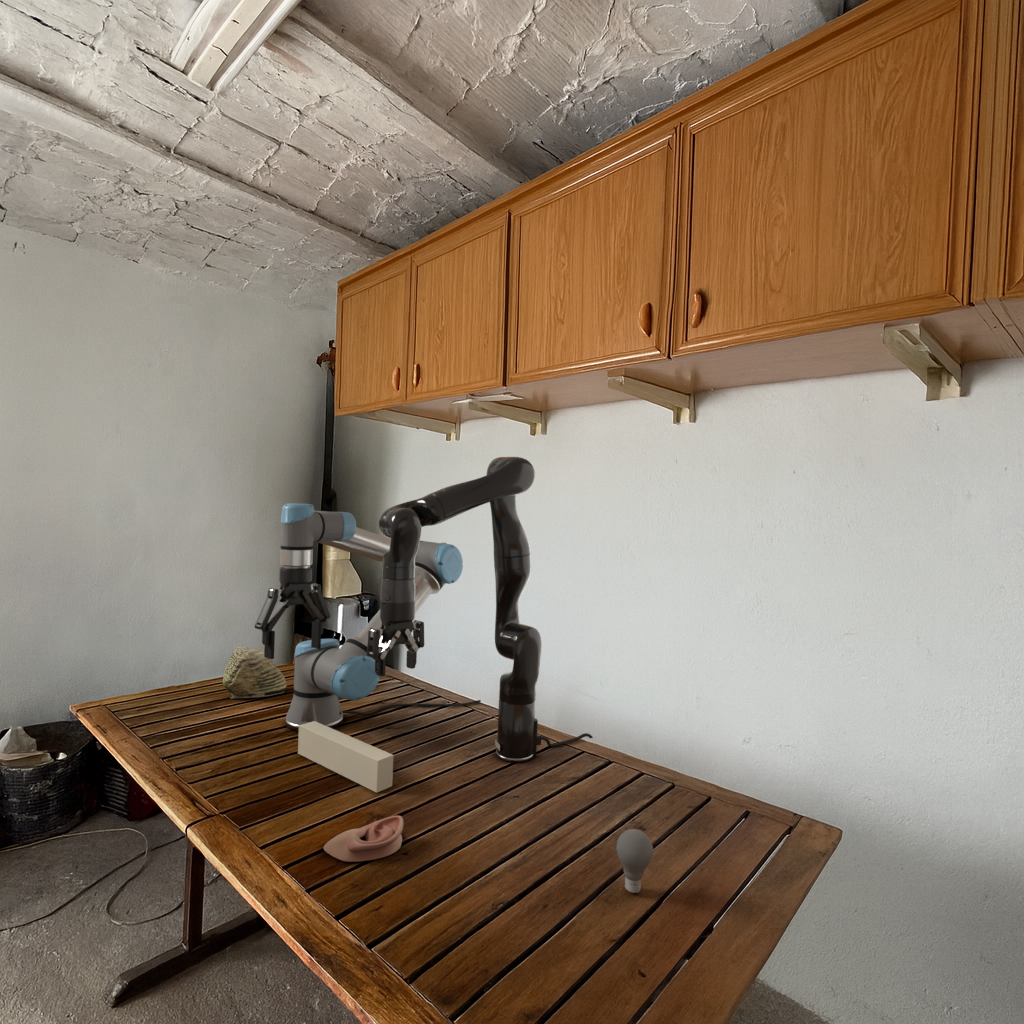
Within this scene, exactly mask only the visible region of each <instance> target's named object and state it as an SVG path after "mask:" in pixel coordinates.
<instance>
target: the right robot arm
mask: <svg viewBox="0 0 1024 1024" xmlns="http://www.w3.org/2000/svg"><path fill="white" fill-rule="evenodd" d="M535 478H536V471H535V468H534V465H533V464H532V463H531V462H530V461H529V460H528V459H526V458H524V457H521V456H520V457H519V456H498V457H496V458H493V460H491V462H490V463H489V464H488V467H487V469H486V475H484V476H481V477H478V478H475V479H471V480H468V481H463V482H459V483H456V484H452V485H449V486H446V487H442V488H441V489H438V490H436V491H433V492H431V493H428V494H427V495H424V496H422V497H419V498H416V499H412V500H409V501H405V502H402V503H399V504H395V505H393V506H391V507H389V508H386V509H385V510H384V511H383V512H382V514H381V515H380V517H379V520H378V528H379V530H380V532H381V534H383V536H384V537H387V538H391V543H390V549H389V551H388V552H386V553H385V554H384V557H383V565H382V568H381V569H382V571H381V573H382V574H381V575H382V576H381V583H380V584H381V585H380V602H379V603H380V606H379V610H380V619H381V622H382V625H381V628H379V629H374V628H370V629H369V631H368V644H367V656H370V657H374V658H375V673H376V674H377V675H378V677H380V678H381V677H385V676H386V661H387V660H386V656H387V654H388V653H389V651H391V650H392V649H393V647H397V646H399V645H404V646H405V647H406V648H405V649H407V650H406V668H407V669H411V670H413V669H415V668H416V666H417V661H418V659H417V657H418V651H419V649H422V648H424V647H425V622H424V621H421V620H416V619H415V618H416V613H415V591H416V590H415V557H416V554H417V550H418V546H419V542H420V541H421V538H422V530H423V529H422V528H423V527H428V526H437V525H439V524H442V523H444V522H446V521H448V520H451V519H453V518H455V517H457V516H460V515H461V514H463V513H466V512H469V511H471V510H472V509H475V508H478V507H480V506H483V505H485V504H488V503H489V506H490V514H491V525H492V529H491V530H492V540H493V542H492V543H493V568H494V576H495V577H494V578H495V579H494V581H495V623H494V645H495V649H496V651H497V653H498V655H500V656H501V657H502V658H506V659H508V660H511V661H513V664H512V671H508V672H505V673H503V674H501V675H500V677H499V691H498V714H497V737H496V739H494V746H495V747H496V750H495V755H496V757H497V758H498V759H500V760H502V761H505V762H509V763H524V762H528V761H530V760H532V759H533V758H537V749H538V748H537V747H538V746H542V741H544V742H546V744H547V747H549V748H557V747H561V746H563V745H568V744H570V743H573V742H577V741H580V740H581V739H583V738H589V739H594V737H593V736H592V735H591V734H590V733H588V732H586V733H581V734H580V735H578V736H575V737H572V738H569V739H566V740H562V741H559V742H556V743H551V740H550V739H549V738H548V737H547V736H542V735H541V734H540V733H538V726H539V725H538V724H539V720H538V718H537V717H536V697H537V696H536V695H537V682H538V680H539V678H540V675H541V674H540V673H541V664H542V652H543V638H542V634H541V632H540V631H539V629H538V628H536V627H534V626H531V625H527V624H523V623H521V621H520V601H521V597H522V595H523V593H524V591H525V589H526V587H527V585H528V582H529V580H530V579H531V573H532V555H531V552H532V551H531V546H530V542H529V539H528V537H527V533H526V531H525V530H524V527H523V525H522V522H521V521H520V518H519V515H518V509H517V498H516V496H517V495H521V494H524V493H527V492H528V491H529V490H530V489H531V488H532V487H533V485H534V482H535ZM381 635H382V637H381ZM380 638H381V639H380ZM385 642H386V643H387V644H384V643H385ZM381 651H382V652H381Z"/></svg>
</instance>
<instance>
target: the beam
mask: <svg viewBox="0 0 1024 1024" xmlns="http://www.w3.org/2000/svg"><path fill="white" fill-rule="evenodd" d="M297 737H298V740H297V741H298V742H297V754H298V755H300V756H302V757H304V758H306V759H308V760H310V761H312V762H314V763H316V764H318V765H321V766H322V767H324V768H326V769H328V770H330V771H332V772H334V773H336V774H338V775H339V776H341V777H344V778H346V779H348V780H350V781H352V782H354V783H356V784H358V785H360V786H362V787H364V788H366V789H368V790H370V791H372V792H374V793H376V794H377V793H379V792H382V791H384V790H386V789H387V790H388V789H389V788H391V787H393V779H394V777H393V775H394V754H392V753H390V752H387V751H385V750H383V749H380V748H378V747H376V746H374V745H372V744H369V743H367V742H365V741H362V740H361V739H357V738H355V737H352V736H350V735H348V734H346V733H343V732H341V731H339V730H337V729H335V728H333V729H332V728H329V727H327V726H325V725H322V724H320V723H318V722H315V721H313V722H309V723H306V724H302V725H299V731H298V736H297Z"/></svg>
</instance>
